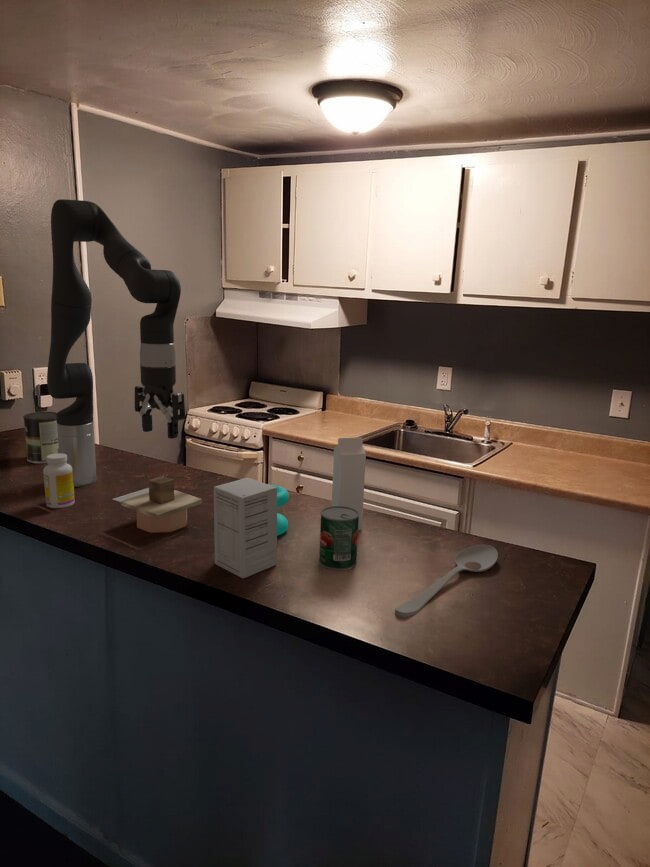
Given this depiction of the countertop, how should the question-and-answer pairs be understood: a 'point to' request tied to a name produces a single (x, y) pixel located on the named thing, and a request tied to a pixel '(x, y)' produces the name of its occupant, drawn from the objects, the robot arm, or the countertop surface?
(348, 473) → the milk
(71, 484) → the supplement bottle
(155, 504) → the lid
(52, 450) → the coffee can
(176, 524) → the bowl
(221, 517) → the supplement box
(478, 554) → the spoon
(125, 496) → the mat
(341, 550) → the canned tomato
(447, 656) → the countertop surface
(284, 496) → the donuts
